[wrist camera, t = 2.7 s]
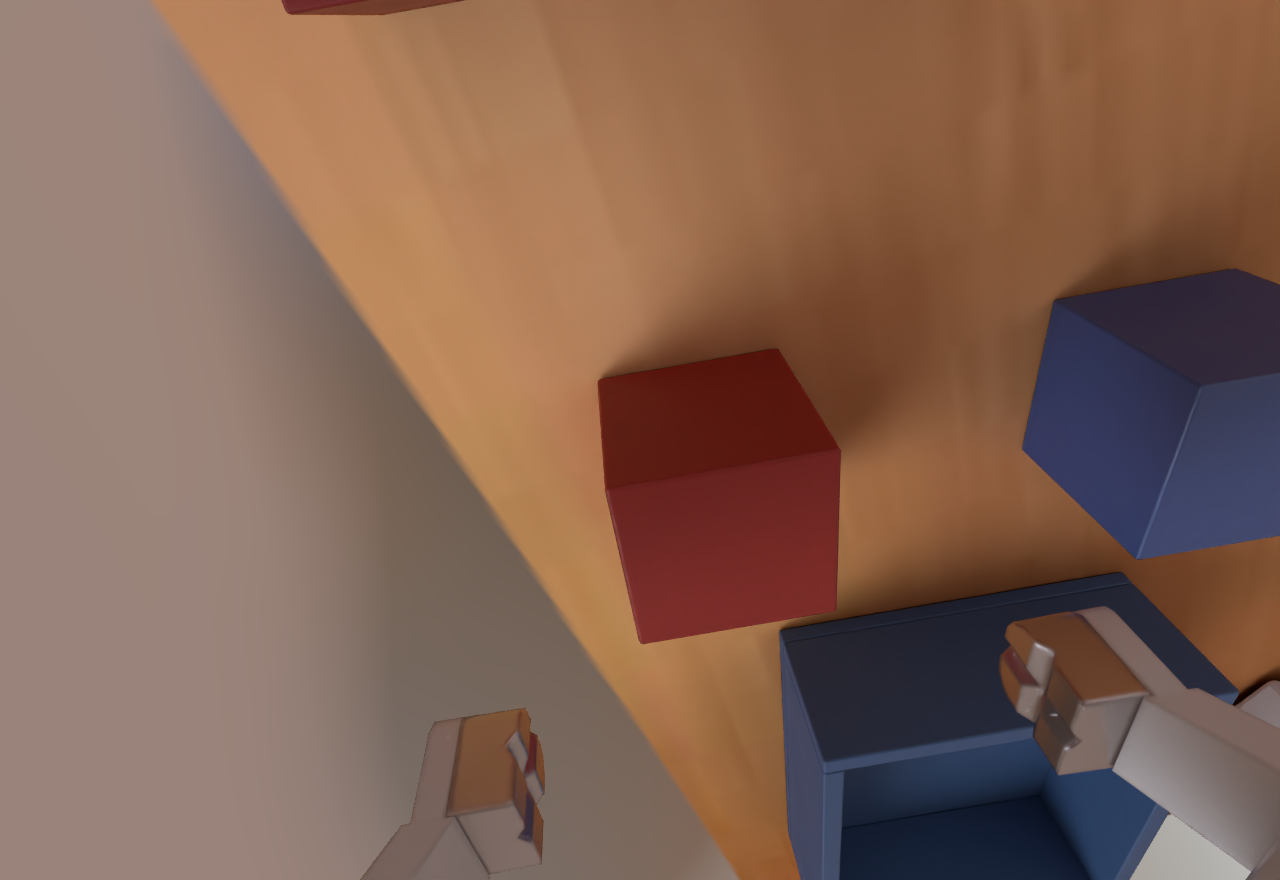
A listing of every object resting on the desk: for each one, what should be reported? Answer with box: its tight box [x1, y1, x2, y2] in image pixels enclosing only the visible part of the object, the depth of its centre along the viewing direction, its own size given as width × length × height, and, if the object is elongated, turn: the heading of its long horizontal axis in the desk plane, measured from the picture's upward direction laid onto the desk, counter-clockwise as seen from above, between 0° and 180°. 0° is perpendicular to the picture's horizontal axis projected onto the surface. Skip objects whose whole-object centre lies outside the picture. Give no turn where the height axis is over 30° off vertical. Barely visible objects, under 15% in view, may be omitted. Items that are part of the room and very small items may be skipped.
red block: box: [598, 349, 841, 644], centre depth 15 cm, size 4×4×4 cm
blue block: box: [1022, 268, 1280, 560], centre depth 15 cm, size 4×4×4 cm
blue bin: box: [779, 572, 1239, 880], centre depth 23 cm, size 13×11×4 cm
